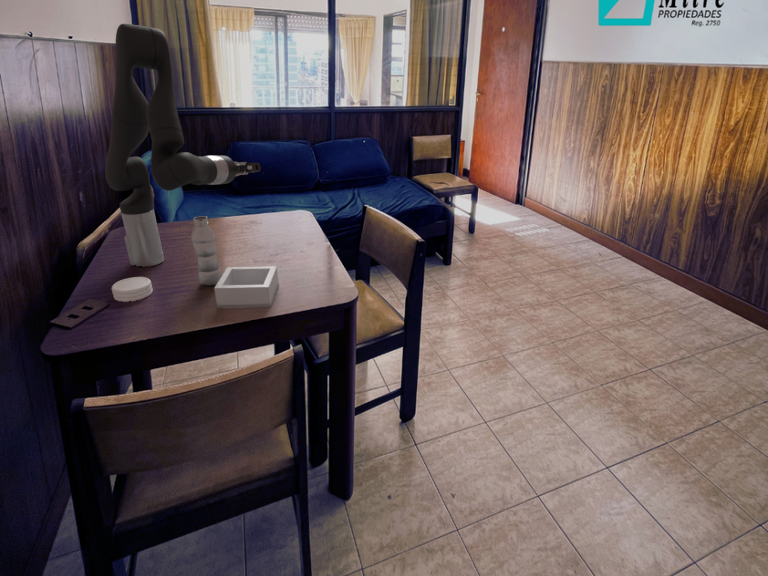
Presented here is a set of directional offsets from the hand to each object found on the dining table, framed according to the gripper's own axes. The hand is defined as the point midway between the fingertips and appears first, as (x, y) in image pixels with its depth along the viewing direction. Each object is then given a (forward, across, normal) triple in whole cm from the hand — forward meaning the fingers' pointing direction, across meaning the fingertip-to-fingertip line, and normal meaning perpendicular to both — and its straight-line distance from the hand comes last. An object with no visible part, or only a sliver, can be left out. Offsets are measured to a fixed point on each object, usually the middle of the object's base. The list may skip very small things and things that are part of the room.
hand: (245, 168), depth 144 cm
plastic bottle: (-13, +9, +32) cm, 36 cm away
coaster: (-24, +27, +32) cm, 48 cm away
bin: (-18, -6, +35) cm, 39 cm away
